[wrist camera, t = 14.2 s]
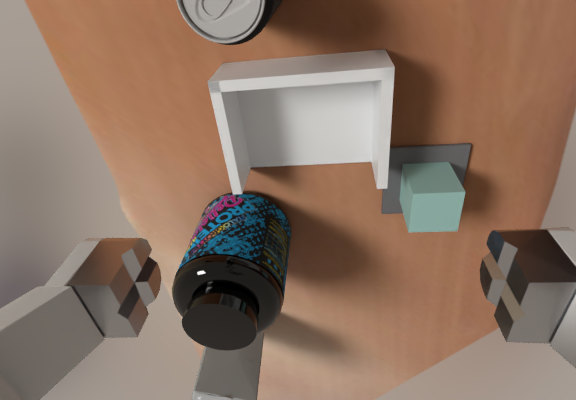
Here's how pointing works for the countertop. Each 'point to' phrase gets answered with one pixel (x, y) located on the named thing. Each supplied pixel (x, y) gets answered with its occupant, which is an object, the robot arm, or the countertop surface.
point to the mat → (420, 154)
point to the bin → (305, 112)
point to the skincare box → (229, 373)
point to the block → (431, 197)
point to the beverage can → (228, 18)
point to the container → (233, 271)
